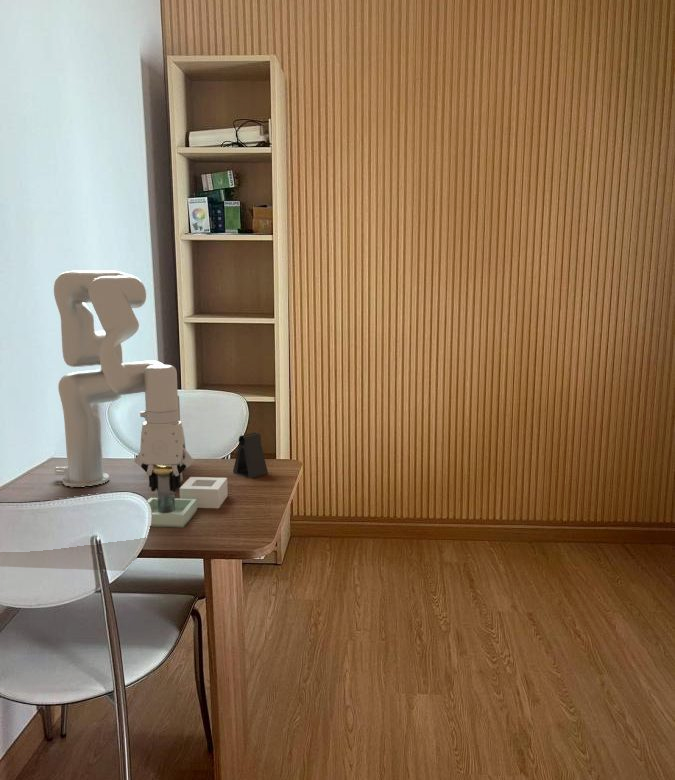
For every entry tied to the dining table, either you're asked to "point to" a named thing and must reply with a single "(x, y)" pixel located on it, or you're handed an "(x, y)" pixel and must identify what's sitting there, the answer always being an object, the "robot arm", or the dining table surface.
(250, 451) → the black a-frame stand
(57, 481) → the dining table surface
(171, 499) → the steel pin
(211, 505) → the block
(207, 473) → the dining table surface
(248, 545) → the dining table surface
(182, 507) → the tray
